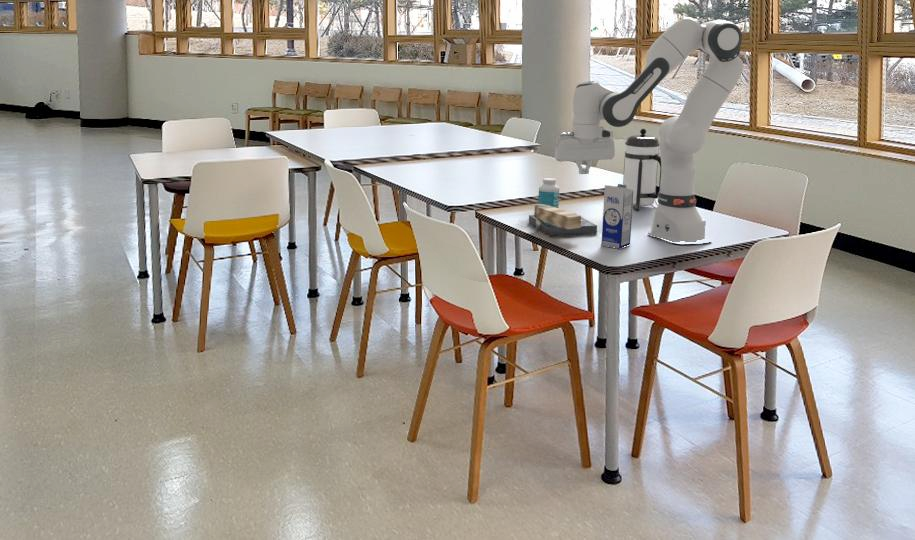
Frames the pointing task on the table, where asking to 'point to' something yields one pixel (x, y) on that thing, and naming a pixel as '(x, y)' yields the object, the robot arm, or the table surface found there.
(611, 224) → the milk carton
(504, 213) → the table surface
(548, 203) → the pill bottle
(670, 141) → the robot arm
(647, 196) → the coffee press
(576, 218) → the tan bar
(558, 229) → the panel
